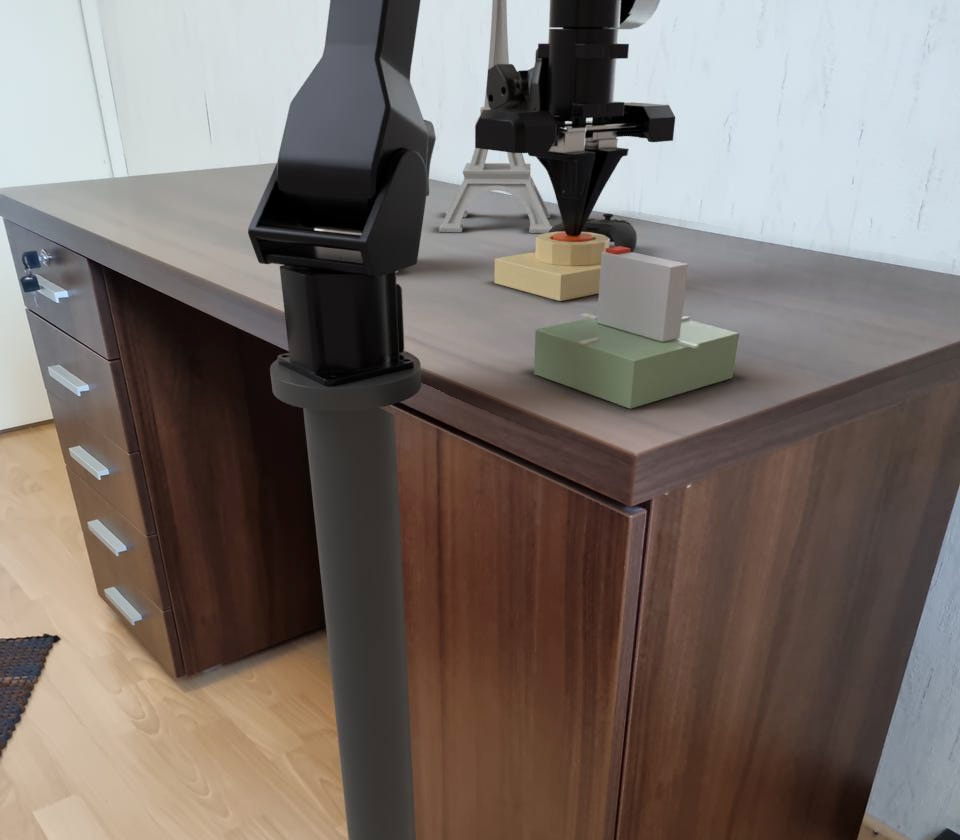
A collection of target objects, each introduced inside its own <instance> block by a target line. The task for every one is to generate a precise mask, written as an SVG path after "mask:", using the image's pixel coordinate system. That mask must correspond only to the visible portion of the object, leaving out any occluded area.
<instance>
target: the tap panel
mask: <svg viewBox="0 0 960 840" xmlns="http://www.w3.org/2000/svg"><path fill="white" fill-rule="evenodd" d="M580 316H581V317H583V318H582V319H578V320H573V321H568V322H563V323H559V324H554V325H550V326H546V327H545V326H544V327H541V328H537V329H535V330H534V331H535V335H534V358H533V359H534V360H533V374H534V375H536V376H539V377H542V378H544V379H547V380H548V381H549V380H550V381H552V382H555V383H558V384H561V385H563V386H566V387H568V388H572V389H575V390H577V391H579V392H583V393H584V394H585V393H586V394H588V395H590V396H594V397H597V398H599V399H602V400H605V401H608V402H610V403H613V404H616V405H619V406H622V407H624V408H627V409H629V410H630V409H635V408H638V407H640V406H644V405H647V404H648V405H649V404H651V403H655V402H657V401H661V400H665V399H667V398H671V397H674V396H677V395H681V394H684V393H688V392H690V391H694V390H697V389H700V388H704V387H707V386H710V385H713V384H717V383H721V382H724V381H727V380H730V379H733V377H734V370H735V364H736V358H737V351H738V345H739V338H740V333H739V332H736V331H732V330H729V329H725V328H721V327H718V326H714V325H709V324H706V323H702V322H699V321H694V320H692V319H691V317H690V316H687V315H684V316H682V320H681V329H680V337H679V338H677V339H673V340H669V341H665V342H661V341H658V340H654V339H651V338H647V337H644V336H641V335H637V334H634V333H630V332H627V331H623V330H620V329H617V328H613V327H610V326H606V325H603V324H600V323H597V315H595V314H590V313H586V312H584V313H581V314H580Z"/></svg>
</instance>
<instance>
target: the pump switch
mask: <svg viewBox="0 0 960 840" xmlns="http://www.w3.org/2000/svg"><path fill="white" fill-rule="evenodd" d="M564 232H565V231H564ZM556 233H561V232H551V233H540V234H539V235H537V236H535V251H533V252H527V253H521V254H514V255H508V256H502V257H495V258H494V284H496V285H500V286H503V287H507V288H511V289H514V290H517V291H522V292H525V293H528V294H532V295H536V296H539V297H543V298H546V299H550V300H554V301H557V302H563V301H568V300H573V299H578V298H583V297H588V296H594V295H599V285H600V271H601V257H602V252H606V248H610V243H611V242H610V239H609V238H608V237H606V236H605V235H601V234H596V233H591V232H581V233H587V234H591V235H592V236H593V240H592V241H586V242H564V241H557V240H553V235H554V234H556Z"/></svg>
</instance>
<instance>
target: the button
mask: <svg viewBox="0 0 960 840" xmlns="http://www.w3.org/2000/svg"><path fill="white" fill-rule="evenodd" d="M553 240H557V241H564V242H586V241H592V240H593V236H592V235H591V234H587V233H581V234H580V235H579V236H568V235H567V234H566V233H565V232H561V233H556V234H554V235H553Z"/></svg>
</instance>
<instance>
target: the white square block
mask: <svg viewBox="0 0 960 840" xmlns="http://www.w3.org/2000/svg"><path fill="white" fill-rule="evenodd" d="M630 250H631V248H627V247H622V246H617V247H615V246H612V247H609V248H606V252H602V257H601V271H600V285H599V294H598V302H597V315H596V316H597V323H600V324H603V325H606V326H610V327H613V328H617V329H620V330H623V331H627V332H630V333H634V334H637V335H641V336H644V337H647V338H651V339H654V340H658V341H661V342H665V341H669V340H673V339H677V338H679V337H680V329H681V320H682V317H683V313H684V312H683V311H684V302H685V294H686V287H687V278H688V270H689V264H688V263H684V262H679V261H675V260H670V259H667V258H662V257H657V256H651V255H647V254H642V253H638V252H634V251H633V252H630Z"/></svg>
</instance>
